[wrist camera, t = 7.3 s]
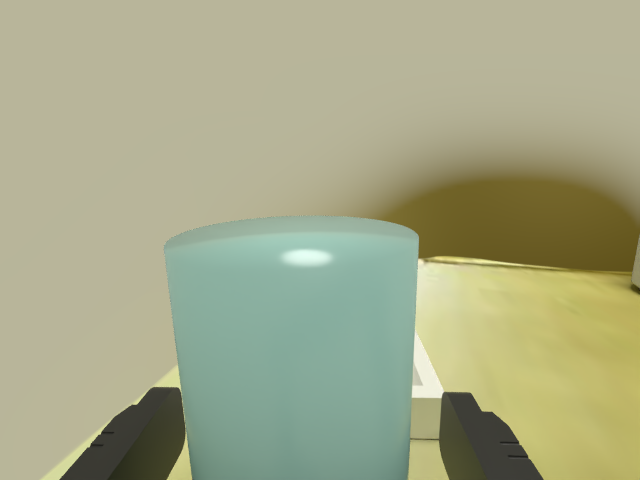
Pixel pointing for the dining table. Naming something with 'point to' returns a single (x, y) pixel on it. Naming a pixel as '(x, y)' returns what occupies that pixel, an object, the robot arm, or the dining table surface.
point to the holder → (424, 396)
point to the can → (637, 267)
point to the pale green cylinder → (295, 347)
